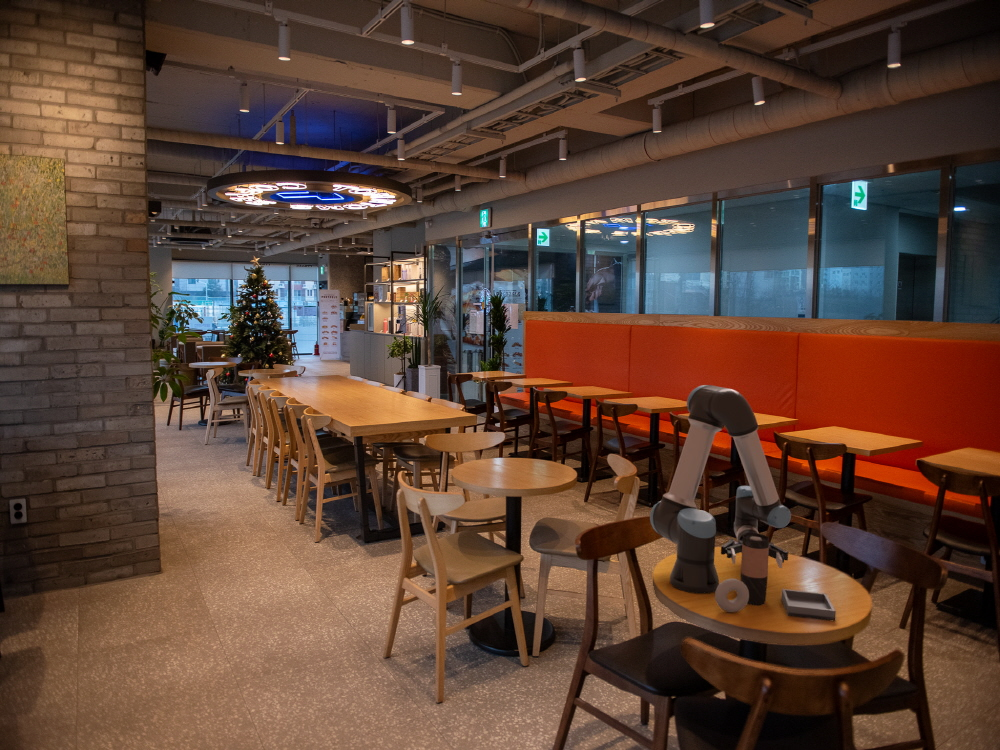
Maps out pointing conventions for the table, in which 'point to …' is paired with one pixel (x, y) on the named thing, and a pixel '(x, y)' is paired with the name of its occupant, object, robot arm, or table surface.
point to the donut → (725, 589)
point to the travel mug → (755, 567)
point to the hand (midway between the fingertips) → (757, 561)
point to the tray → (808, 604)
